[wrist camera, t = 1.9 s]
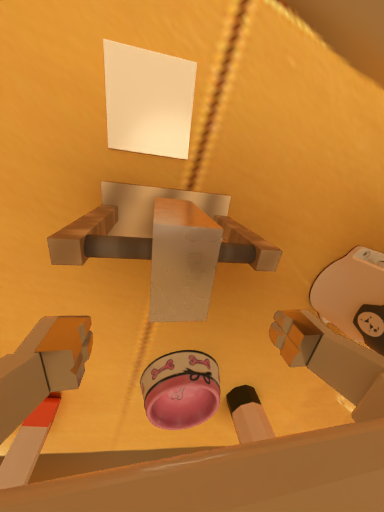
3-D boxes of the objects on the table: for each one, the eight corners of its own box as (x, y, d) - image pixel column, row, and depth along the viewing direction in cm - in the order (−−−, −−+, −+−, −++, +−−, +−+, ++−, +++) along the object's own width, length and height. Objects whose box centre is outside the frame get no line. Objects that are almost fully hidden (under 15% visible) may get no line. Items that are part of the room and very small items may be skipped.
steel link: (190, 200, 22) (223, 228, 11) (184, 254, 24) (206, 320, 14) (155, 196, 21) (153, 223, 10) (152, 253, 24) (149, 322, 13)
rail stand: (228, 195, 29) (293, 216, 15) (219, 243, 32) (266, 298, 18) (103, 180, 26) (38, 191, 12) (106, 237, 29) (58, 299, 15)
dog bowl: (128, 396, 45) (123, 432, 38) (161, 340, 39) (162, 372, 33) (195, 405, 51) (201, 438, 44) (232, 358, 45) (244, 387, 39)
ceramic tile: (195, 65, 22) (196, 62, 22) (186, 159, 26) (187, 159, 26) (105, 43, 20) (103, 38, 20) (109, 148, 24) (108, 147, 24)
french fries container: (30, 419, 42) (-50, 576, 26) (39, 387, 38) (-47, 544, 22) (53, 420, 43) (-9, 569, 27) (64, 390, 40) (0, 539, 24)
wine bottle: (259, 384, 51) (374, 623, 24) (248, 404, 54) (339, 635, 27) (231, 384, 49) (323, 645, 22) (221, 404, 52) (291, 656, 25)
